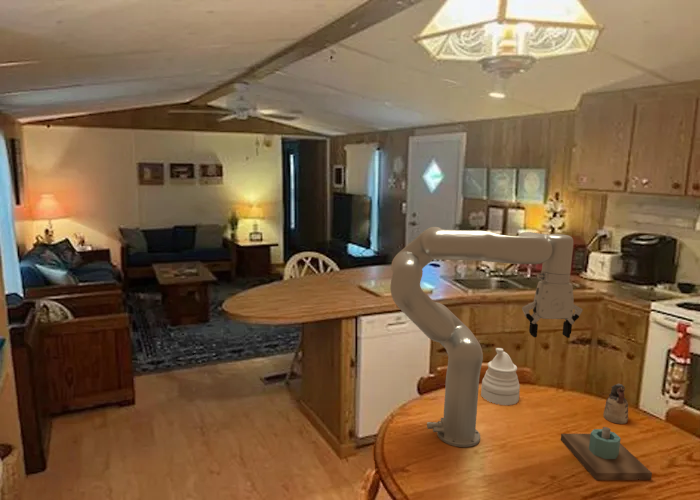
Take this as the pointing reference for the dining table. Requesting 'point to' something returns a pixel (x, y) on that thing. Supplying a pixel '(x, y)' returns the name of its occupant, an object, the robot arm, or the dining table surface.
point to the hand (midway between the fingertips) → (549, 336)
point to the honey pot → (501, 380)
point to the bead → (604, 445)
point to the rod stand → (605, 468)
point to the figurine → (616, 406)
